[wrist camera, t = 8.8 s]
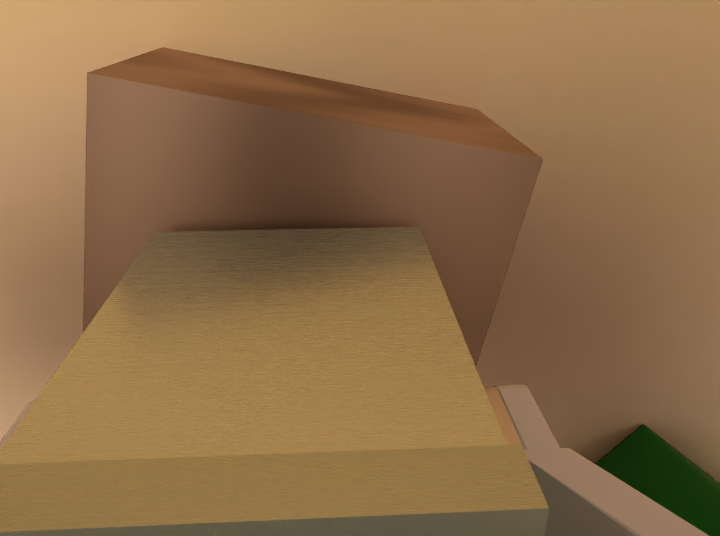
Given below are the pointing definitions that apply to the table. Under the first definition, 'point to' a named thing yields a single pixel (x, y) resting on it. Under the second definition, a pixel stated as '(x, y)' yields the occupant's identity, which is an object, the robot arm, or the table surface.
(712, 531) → the soya milk
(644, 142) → the table surface
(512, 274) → the table surface
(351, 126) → the walnut block
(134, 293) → the grey wooden block
